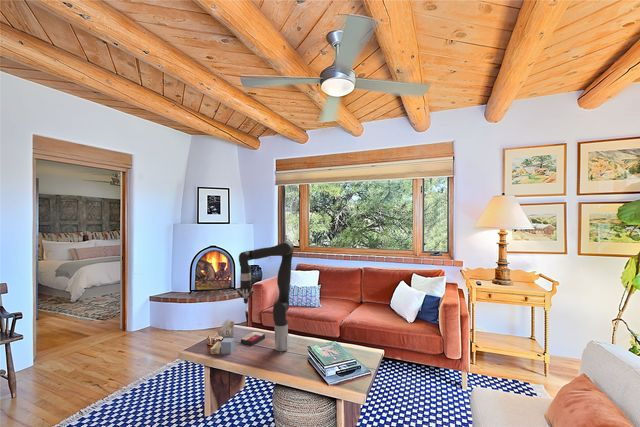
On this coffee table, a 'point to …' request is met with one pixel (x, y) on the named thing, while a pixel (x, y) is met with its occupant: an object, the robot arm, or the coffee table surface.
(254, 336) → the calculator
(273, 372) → the coffee table surface
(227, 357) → the coffee table surface
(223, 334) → the fossil
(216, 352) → the tan lumpy piece
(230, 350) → the block
